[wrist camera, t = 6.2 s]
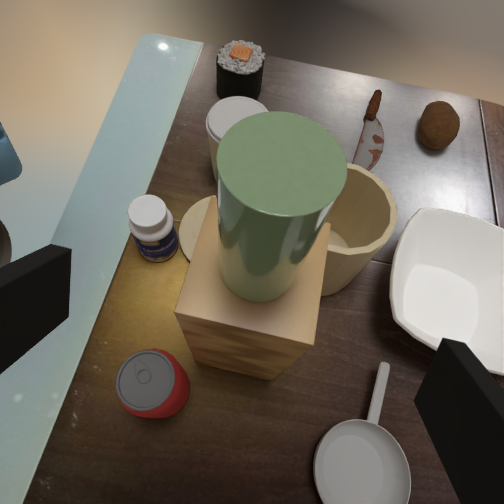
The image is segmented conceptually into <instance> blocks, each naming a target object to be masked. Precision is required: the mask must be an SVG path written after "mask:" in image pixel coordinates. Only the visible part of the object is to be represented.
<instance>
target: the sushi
mask: <svg viewBox="0 0 504 504" xmlns="http://www.w3.org/2000/svg"><path fill="white" fill-rule="evenodd" d="M264 56H265V53H263V52H262V49H261V47H260V46H256V45H253V42H251V45H250V42H248V43H247V42H244V41H242V40H239V42H238V41H234V40H233V42H232V43H228V44H227V45H225V46H223V48H221V49H220V52H219V54H218V56H217V60H216V66H217V94H218V96H219V98H220V99H225V98H228V97H233V96H242V97H248V98H251V99H254V100H256V99H257V98H258V96H259V93H260V91H261V82H262V74H263V66H264V60H265V58H264Z"/></svg>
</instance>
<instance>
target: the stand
mask: <svg viewBox="0 0 504 504" xmlns="http://www.w3.org/2000/svg"><path fill="white" fill-rule="evenodd" d="M330 227H331V224H330V223H326V222H325V224H324V226H323V228H322V230H321V232H320V234H319V236H318V238H317V240H316V241H315V243H314V245H313V247H312V249H311V251H310V253H309V255H308V257H307V259H306V261H305V263H304V265H303V267H302V268H301V270H300V272H299V274H298V276H297V278H296V280H295V282H294V284H293V285H292V287H291V288H290V289H289V291H287V292H286V293H285V294H284V295H283V296H281V297H279V298H277V299H275V300H272V301H268V302H251V301H247V300H244V299H242V298H240V297H238V296H236V295H235V294H234V293H232V292H231V291H230V290H229V289H228V288H227V287H226V285H225V284H224V282H223V280H222V278H221V276H220V273H219V266H218V223H217V198H216V197H211V199H210V203H209V206H208V209H207V212H206V215H205V218H204V221H203V224H202V227H201V230H200V233H199V236H198V239H197V242H196V246H195V249H194V252H193V255H192V258H191V261H190V264H189V267H188V270H187V273H186V276H185V279H184V282H183V285H182V289H181V292H180V295H179V298H178V301H177V304H176V307H175V310H174V313H175V315H176V318H177V320H178V322H179V324H180V327H181V329H182V331H183V334H184V336H185V338H186V341H187V343H188V345H189V348H190V350H191V352H192V354H193V357H194V359H195V361H196V363H199V364H203V365H207V366H211V367H215V368H219V369H223V370H228V371H232V372H236V373H240V374H244V375H248V376H252V377H257V378H261V379H265V380H269V381H271V380H273V379H274V378H275V377H276V376H277V375H279V374H280V373H281V372H282V371H283V370H285V369H286V368H287V367H288V366H289V365H290V364H292V363H293V362H294V361H295V360H296V359H298V358H299V357H300V356H301V355H302V354H304V353H305V352H306V351H307V350H308V349H310V348H311V347H312V346H313V345H314V340H315V333H316V326H317V319H318V312H319V305H320V298H321V291H322V284H323V277H324V270H325V263H326V256H327V248H328V241H329V234H330Z"/></svg>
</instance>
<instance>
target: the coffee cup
mask: <svg viewBox="0 0 504 504" xmlns="http://www.w3.org/2000/svg"><path fill="white" fill-rule="evenodd" d="M263 112H268V110H267V109H266V108H265V106H263V105H262V104H261V103H260V102H258V101H256V100H254V99H251V98H248V97H242V96H233V97H228V98H225V99H222V100H220V101H218V102H217V103H216V104H215V105H213V107H212V108H211V110H210V111H209V113H208V115H207V118H206V128H207V132H208V138H209V146H210V153H211V160H212V167H213V173H214V177H215V180H216V182H217V177H216V155H217V150H218V146H219V144H220V141H221V139H222V138H223V136H224V135H225V133H226V132H227V131H228V130H229V129H230V128H231V127H232V126H233V125H234V124H236V123H237V122H239V121H240V120H242V119H244V118H246V117H248V116H251V115H254V114H258V113H263Z"/></svg>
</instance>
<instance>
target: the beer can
mask: <svg viewBox="0 0 504 504" xmlns="http://www.w3.org/2000/svg"><path fill="white" fill-rule="evenodd" d="M116 392H117V396H118V399H119V402H120V403H121V405H122V406H123V407H124V409H125V410H127V411H128V412H130V413H131V414H133V415H135V416H139V417H143V418H167V417H169V416H172V415H174V414H176V413H177V412H178V411H179V410H180V409H181V408H182V407H183V406H184V404H185V403H186V401H187V399H188V395H189V392H190V383H189V379H188V376H187V374H186V372H185V371H184V370H183V368H182V367H181V366H180V364H179V363H178V362H177V361H176V359H175V358H174V357H173V356H172V355H171V354H169V353H167V352H166V351H164V350H159V349H145V350H142V351H139V352H137V353H134V354H132V355H131V356H130V357H129V358H127V359H126V360H125V361H124V363H123V364H122V365H121V367H120V368H119V371H118V374H117V376H116Z"/></svg>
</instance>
